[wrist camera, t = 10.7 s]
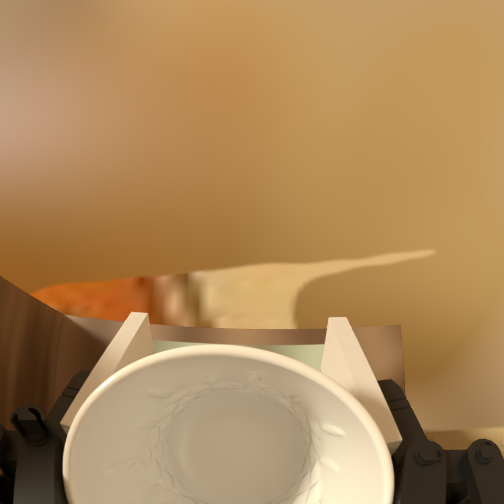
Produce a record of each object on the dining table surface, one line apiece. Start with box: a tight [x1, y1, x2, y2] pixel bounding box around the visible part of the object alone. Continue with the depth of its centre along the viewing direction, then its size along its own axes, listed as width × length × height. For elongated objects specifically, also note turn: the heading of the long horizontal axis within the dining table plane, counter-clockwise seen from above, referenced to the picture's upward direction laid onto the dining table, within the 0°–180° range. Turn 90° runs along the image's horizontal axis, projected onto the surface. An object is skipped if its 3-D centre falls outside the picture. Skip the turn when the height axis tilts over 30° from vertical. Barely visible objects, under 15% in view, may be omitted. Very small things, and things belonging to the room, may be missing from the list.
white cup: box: [63, 345, 394, 504], centre depth 9 cm, size 8×8×10 cm
